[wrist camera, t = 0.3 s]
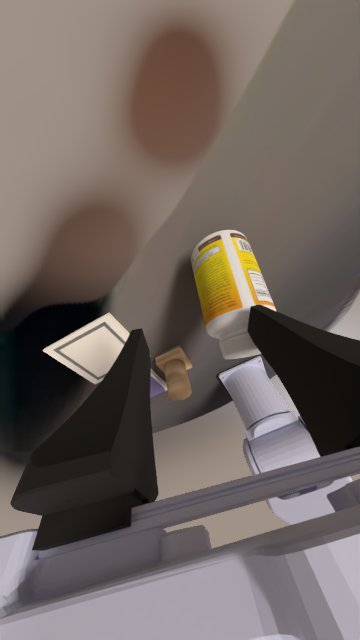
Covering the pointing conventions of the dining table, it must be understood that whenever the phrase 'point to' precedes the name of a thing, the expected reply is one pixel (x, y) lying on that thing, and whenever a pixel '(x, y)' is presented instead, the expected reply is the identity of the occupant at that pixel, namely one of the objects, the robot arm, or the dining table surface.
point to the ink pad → (156, 384)
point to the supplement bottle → (229, 290)
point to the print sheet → (91, 348)
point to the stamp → (175, 372)
